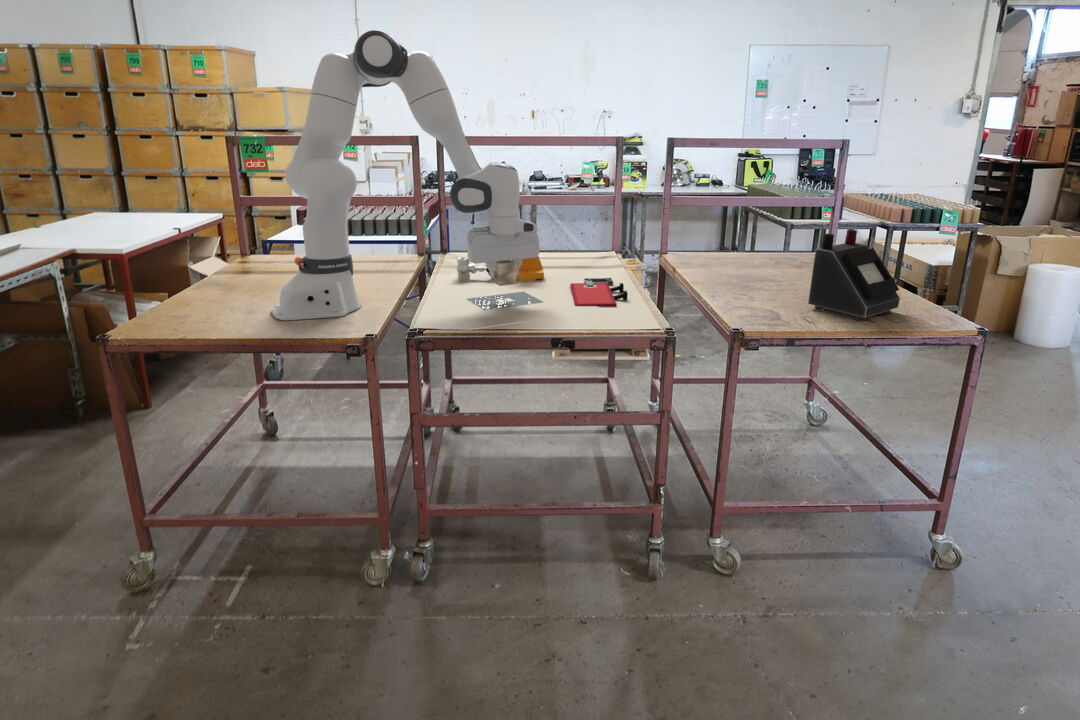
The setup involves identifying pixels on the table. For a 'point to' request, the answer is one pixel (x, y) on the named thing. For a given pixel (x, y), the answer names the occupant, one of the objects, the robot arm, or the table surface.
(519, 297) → the grey mat
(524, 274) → the bracket
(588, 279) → the red board with handle
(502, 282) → the maple block
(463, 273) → the valve
